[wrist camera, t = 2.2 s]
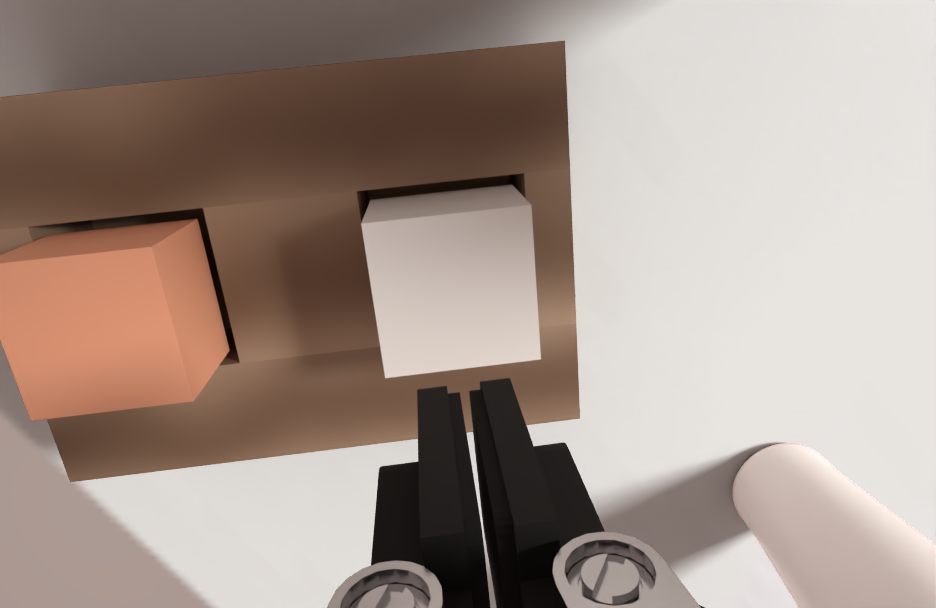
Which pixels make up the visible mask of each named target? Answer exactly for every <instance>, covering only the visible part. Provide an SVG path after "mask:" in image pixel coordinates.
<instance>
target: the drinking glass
mask: <svg viewBox="0 0 936 608" xmlns="http://www.w3.org/2000/svg"><path fill="white" fill-rule="evenodd" d="M732 494H733V501H734V505H735V508H736V510H737V512H738V513H739V515H740V516H741V518H742V519H743V521H744V522H745V523H746V525H747V526H748V527H749V529H750V530H751V531H752V533H753V534H754V536H755V537H756V539H757V540H758V542H759V544H760V545H761V547H762V548H763V550H764V552H765V553H766V555H767V557H768V558H769V560H770V562H771V563H772V565H773V566H774V568H775V570H776V571H777V573H778V575H779V576H780V578H781V580H782V581H783V583H784V585H785V586H786V588H787V590H788V591H789V593H790V594H791V596H792V598H793V599H794V601H795V603H796V604H797V606H798V608H936V544H935V543H933V542H932V541H931V540H929V539H928V538H927V537H925V536H924V535H923V534H921V533H920V532H919V531H917V530H916V529H915V528H913V527H912V526H911V525H909V524H908V523H907V522H905V521H904V520H903V519H901V518H900V517H899V516H897V515H896V514H895V513H893V512H892V511H891V510H889V509H888V508H887V507H885V506H884V505H883V504H881V503H880V502H879V501H878V500H876V499H875V498H874V497H872V496H871V495H870V494H868V493H867V492H866V491H864V490H863V489H862V488H860V487H859V486H858V485H856V484H855V483H854V482H853V481H851V480H850V479H849V478H847V477H846V476H845V475H843V474H842V473H841V472H840V471H838V470H837V469H836V468H835V467H834V466H833V465H832V464H831V463H830V462H829V461H828V460H826V459H825V458H824V457H823V456H822V455H821V454H819V453H818V452H817V451H815V450H813V449H812V448H810V447H807V446H804V445H801V444H796V443H781V444H776V445H772V446H769V447H766V448H764V449H762V450H760V451H758V452H757V453H755V454H754V455H752V456H751V457H750V458H749V459H748V460H747V461H746V462H745V463H744V464H743V465H742V467H741V468H740V470H739V471H738V473H737V475H736V477H735V480H734V484H733V491H732Z"/></svg>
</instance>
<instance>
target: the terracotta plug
mask: <svg viewBox="0 0 936 608" xmlns="http://www.w3.org/2000/svg"><path fill="white" fill-rule="evenodd" d="M0 341H1V343H2V346H3V349H4V351H5V354H6V357H7V359H8V362H9V364H10V367H11V370H12V372H13V375H14V378H15V380H16V383H17V386H18V388H19V391H20V394H21V396H22V399H23V402H24V404H25V407H26V410H27V412H28V415H29V418H30V420H31V421H35V420H44V419H52V418H60V417H68V416H77V415H85V414H93V413H101V412H110V411H118V410H126V409H135V408H143V407H151V406H159V405H168V404H176V403H184V402H193V401H195V399H196V398H197V396H198V395H199V393H200V392H201V391H202V389H203V388H204V386H205V385H206V383H207V382H208V381H209V379H210V378H211V376H212V375H213V373H214V372H215V371H216V369H217V368H218V366H219V365H220V363H221V362H222V361H223V359H224V358H225V356H226V355H227V353H228V352H229V351H230V349H229V345H228V341H227V337H226V333H225V329H224V325H223V321H222V317H221V313H220V309H219V305H218V300H217V296H216V292H215V288H214V284H213V280H212V276H211V272H210V268H209V264H208V260H207V255H206V251H205V247H204V243H203V239H202V235H201V231H200V227H199V223H198V219H189V220H180V221H171V222H161V223H152V224H143V225H134V226H125V227H116V228H106V229H97V230H88V231H79V232H70V233H61V234H51V235H48V236H46V237H43V238H41V239H38V240H36V241H33V242H31V243H29V244H26V245H24V246H21V247H19V248H16V249H14V250H12V251H9V252H7V253H4V254H2V255H0Z"/></svg>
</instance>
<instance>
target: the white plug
mask: <svg viewBox="0 0 936 608" xmlns="http://www.w3.org/2000/svg"><path fill="white" fill-rule="evenodd" d="M361 226H362V232H363V239H364V245H365V252H366V258H367V265H368V271H369V277H370V284H371V290H372V297H373V303H374V310H375V316H376V322H377V329H378V335H379V342H380V348H381V355H382V361H383V367H384V374H385V378H391V377H400V376H408V375H416V374H424V373H433V372H441V371H449V370H458V369H466V368H474V367H482V366H491V365H499V364H507V363H516V362H524V361H532V360H540V359H541V351H540V335H539V319H538V303H537V287H536V271H535V254H534V238H533V222H532V206H531V204H530V203H529V202H528V201H527V200H526V199H525V198H524V197H523V195H522V194H521V193H520V192H519V191H518V190H517V189H516V188H515V187H514V186H513V185H512V184H510V185H501V186H492V187H483V188H474V189H464V190H455V191H446V192H437V193H428V194H419V195H409V196H400V197H391V198H382V199H373V200H370V202H369V205H368V208H367V210H366V213H365V215H364V218H363V220H362V223H361Z"/></svg>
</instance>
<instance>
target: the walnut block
mask: <svg viewBox="0 0 936 608" xmlns="http://www.w3.org/2000/svg"><path fill="white" fill-rule="evenodd" d="M510 184H512V185H513V186H514V187H515V188H516V189H517V190H518V191H519V192H520V193H521V194H522V195H523V197H524V198H525V199H526V200H527V201H528V202H529V203H530V204H531V206H532V222H533V238H534V254H535V271H536V287H537V303H538V319H539V335H540V351H541V359H540V360H532V361H524V362H516V363H507V364H499V365H491V366H482V367H474V368H466V369H458V370H449V371H441V372H433V373H424V374H416V375H408V376H400V377H391V378H385V374H384V367H383V361H382V355H381V348H380V342H379V335H378V329H377V322H376V316H375V310H374V303H373V297H372V290H371V284H370V277H369V271H368V265H367V258H366V252H365V245H364V239H363V232H362V226H361V223H362V220H363V218H364V215H365V213H366V210H367V208H368V205H369V202H370V200H373V199H382V198H391V197H400V196H409V195H419V194H428V193H437V192H446V191H455V190H464V189H474V188H483V187H492V186H501V185H510ZM189 219H198V223H199V227H200V231H201V235H202V239H203V243H204V247H205V251H206V255H207V260H208V264H209V268H210V272H211V276H212V280H213V284H214V288H215V292H216V296H217V300H218V305H219V309H220V313H221V317H222V321H223V325H224V329H225V333H226V337H227V341H228V345H229V349H230V351H229V352H228V353H227V355H226V356H225V358H224V359H223V361H222V362H221V363H220V365H219V366H218V368H217V369H216V371H215V372H214V373H213V375H212V376H211V378H210V379H209V381H208V382H207V383H206V385H205V386H204V388H203V389H202V391H201V392H200V393H199V395H198V396H197V398H196V399H195V401H193V402H184V403H176V404H168V405H159V406H151V407H143V408H135V409H126V410H118V411H110V412H101V413H93V414H85V415H77V416H68V417H60V418H52V419H47V420H48V423H49V426H50V428H51V431H52V434H53V437H54V439H55V442H56V445H57V447H58V450H59V453H60V456H61V458H62V461H63V464H64V467H65V469H66V472H67V475H68V477H69V480H70V482H75V481H83V480H91V479H99V478H107V477H115V476H123V475H131V474H139V473H147V472H155V471H163V470H171V469H179V468H187V467H195V466H203V465H211V464H219V463H227V462H235V461H243V460H251V459H259V458H267V457H275V456H283V455H291V454H299V453H307V452H315V451H323V450H331V449H339V448H347V447H355V446H363V445H371V444H379V443H387V442H395V441H403V440H411V439H418V411H417V389H425V388H432V387H440V386H447V391H448V394H449V393H456V392H460V397H461V403H462V410H463V416H464V422H465V428H466V433H467V432H473V424H472V415H471V406H470V396H469V391H472V390H480V381H488V380H496V379H504V378H510V380H511V383H512V385H513V388H514V391H515V394H516V397H517V400H518V403H519V406H520V409H521V412H522V415H523V417H524V420H525V423H526V425H531V424H539V423H547V422H555V421H563V420H571V419H579V418H580V408H579V383H578V359H577V334H576V309H575V284H574V259H573V234H572V209H571V185H570V160H569V135H568V110H567V85H566V60H565V41H557V42H547V43H537V44H527V45H517V46H507V47H497V48H487V49H477V50H467V51H457V52H447V53H437V54H427V55H417V56H407V57H397V58H387V59H377V60H367V61H357V62H347V63H337V64H327V65H317V66H307V67H297V68H287V69H277V70H267V71H257V72H247V73H237V74H227V75H216V76H206V77H196V78H186V79H176V80H166V81H156V82H146V83H136V84H126V85H116V86H106V87H96V88H86V89H76V90H66V91H56V92H46V93H36V94H26V95H16V96H6V97H0V255H2V254H4V253H7V252H9V251H12V250H14V249H16V248H19V247H21V246H24V245H26V244H29V243H31V242H33V241H36V240H38V239H41V238H43V237H46V236H48V235H51V234H61V233H70V232H79V231H88V230H97V229H106V228H116V227H125V226H134V225H143V224H152V223H161V222H171V221H180V220H189Z"/></svg>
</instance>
